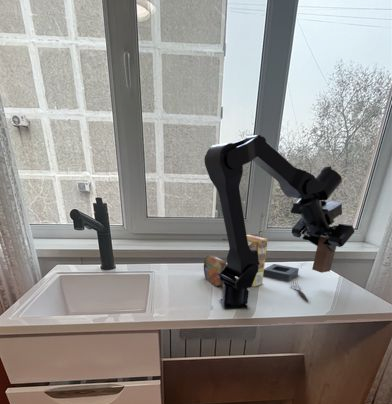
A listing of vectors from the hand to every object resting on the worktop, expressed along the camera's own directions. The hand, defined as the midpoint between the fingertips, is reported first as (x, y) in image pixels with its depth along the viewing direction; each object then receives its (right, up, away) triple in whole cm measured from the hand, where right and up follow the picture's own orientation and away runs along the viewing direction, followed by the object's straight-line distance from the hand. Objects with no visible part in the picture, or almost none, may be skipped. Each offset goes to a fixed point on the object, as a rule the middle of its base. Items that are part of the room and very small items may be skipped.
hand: (328, 249), depth 92 cm
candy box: (-24, -9, +8) cm, 27 cm away
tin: (-36, -9, +8) cm, 38 cm away
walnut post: (-1, -6, +3) cm, 7 cm away
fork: (-10, -14, 0) cm, 17 cm away
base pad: (-11, -5, +16) cm, 20 cm away
